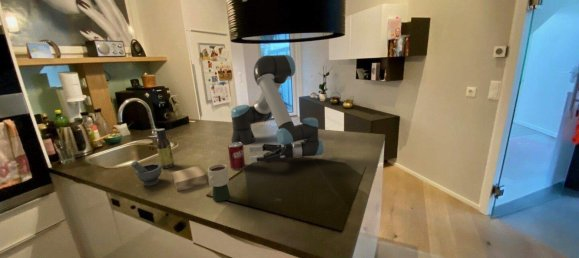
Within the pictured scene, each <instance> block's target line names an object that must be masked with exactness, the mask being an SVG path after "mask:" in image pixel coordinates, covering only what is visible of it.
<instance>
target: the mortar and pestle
mask: <svg viewBox="0 0 579 258" xmlns="http://www.w3.org/2000/svg"><path fill="white" fill-rule="evenodd" d="M130 166H131V168H134V169H135V175H136V176H137V178H138V180H140V181H141V182H143V183H142V184H143V185H144V186H145V187H149V186H154V185H156V184H158V183H159V182H160V178H159V177H160V176H161V174H162V168H161V164H159V163H152V164H145V165H141V164H140V163H139V161H138V160H135V161H133V162H132V163H131V164H130Z"/></svg>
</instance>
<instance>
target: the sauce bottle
mask: <svg viewBox="0 0 579 258" xmlns="http://www.w3.org/2000/svg"><path fill="white" fill-rule="evenodd" d="M155 133H156V136H157V141H156V149H157V154H158V159H159V163H160V164H159V165H160V166H161V169H169V168H172V167H174V165H175V160H174V155H173V150H172V146H171V142H170V140H169V139H168V138H167V134H166V129H165V128H157V129H156V130H155Z"/></svg>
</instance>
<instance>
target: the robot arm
mask: <svg viewBox="0 0 579 258" xmlns="http://www.w3.org/2000/svg"><path fill="white" fill-rule="evenodd" d="M295 73H296V63H295V61H294V58H293V57H292V56H291V55H289V54H276V55H275V54H274V55H273V54H272V55H262V56H260V58H258V59H257V60H256V62H255V64H254V67H253V78H254V81H255V83H256V85H257V86H259V87H260V90H261V93H260V95H259V98H258V99H257V100H256V101H254V104H253V105H252V106H250V105H249V104H241V105H237V106H234V107H233V108H232V109H231V110H230V114H231V115H230V117H231V123H232V129H233V131H232V135H231V143H235V142H240V143H242V144H243V146H244V145H248V144H252V143H254V142H255V140H256V139H255V138H256V137H255V134H254V132H253V130H252V125H254V124H259V123H265V122H268V121H270V120H271V119H272V117H273V119H274V122H275V124H276V126H277V128H278V129H277V130H276V134H275V135H276V140H277V142H278V143H279V144H274V143H273V144H270V143H264V144H263V145H257V146H256V145H255V146H249V152H250V153H257V152H271V153H269V154H266V155H265V154H263V155H255V156H254V155H253V156H249V157H248V158H249V159H248V160H249V163H251V164H253V163H259V162H260V163H262V162H264V163H265V164H269V163H273V162H277V161H280V160H284V159H293V158H297V159H298V158H304V157H316V156H321V155H323V154H324V144H323V141H322V140H321V139H319V121H318V119H317V118H316V117H305V118H303V119H302V123H300V124H296V125H295V123H294V122H293V118H292V117H291V115H290V112H289V110H288V108H287V105H286V104H285V102H284V100H283V98H282V95H281V93H280V91H279V90H280V88H281V86H282V85H283V84H285V83H286V81H287V80H288V78H291V77H293V76H295ZM282 145H283V146H282Z"/></svg>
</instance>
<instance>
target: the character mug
mask: <svg viewBox="0 0 579 258" xmlns="http://www.w3.org/2000/svg"><path fill="white" fill-rule="evenodd" d="M207 176H208V185H209V187H212V200H213V201H216V202H222V201H226V200H228V199H229V198H230V197H231V196H230V195H231V193H230V189H229V186H228V183H229V182H230V179H229V177H230V176H229V170H228V165H227V164H225V163H216V164H215V163H214V164H212V165H209V167H208V168H207Z"/></svg>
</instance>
